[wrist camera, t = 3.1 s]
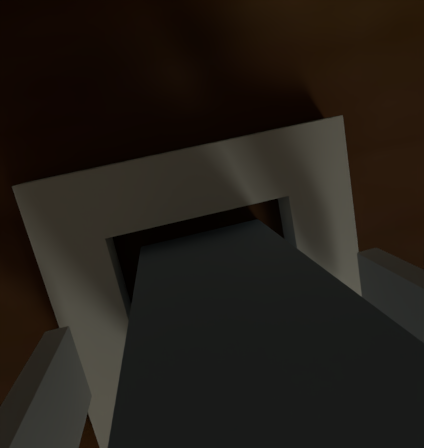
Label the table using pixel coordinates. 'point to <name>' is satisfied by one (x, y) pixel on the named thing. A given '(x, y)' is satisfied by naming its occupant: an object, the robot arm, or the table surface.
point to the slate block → (260, 352)
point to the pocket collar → (174, 212)
